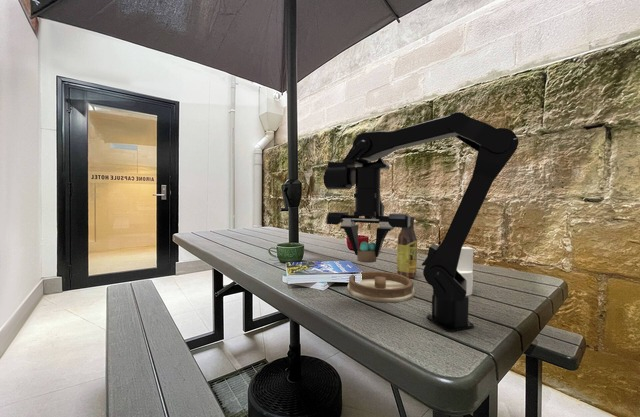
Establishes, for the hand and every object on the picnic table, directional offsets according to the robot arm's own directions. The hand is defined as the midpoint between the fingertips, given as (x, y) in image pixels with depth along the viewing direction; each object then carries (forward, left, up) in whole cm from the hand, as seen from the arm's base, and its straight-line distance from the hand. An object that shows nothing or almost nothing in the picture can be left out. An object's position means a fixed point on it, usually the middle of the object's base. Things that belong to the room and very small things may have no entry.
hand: (366, 255), depth 64 cm
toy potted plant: (0, 0, -1) cm, 1 cm away
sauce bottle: (+19, -25, -12) cm, 34 cm away
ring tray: (+9, -9, -12) cm, 18 cm away
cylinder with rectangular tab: (+3, -29, -12) cm, 32 cm away
